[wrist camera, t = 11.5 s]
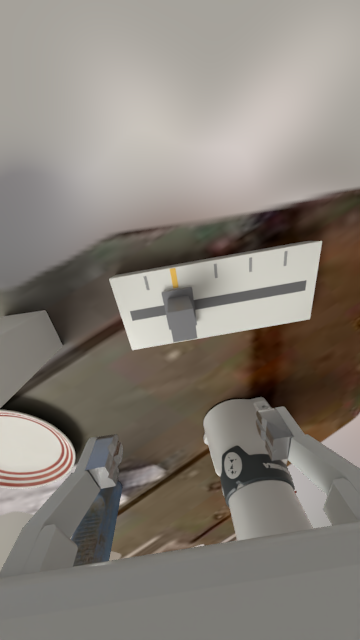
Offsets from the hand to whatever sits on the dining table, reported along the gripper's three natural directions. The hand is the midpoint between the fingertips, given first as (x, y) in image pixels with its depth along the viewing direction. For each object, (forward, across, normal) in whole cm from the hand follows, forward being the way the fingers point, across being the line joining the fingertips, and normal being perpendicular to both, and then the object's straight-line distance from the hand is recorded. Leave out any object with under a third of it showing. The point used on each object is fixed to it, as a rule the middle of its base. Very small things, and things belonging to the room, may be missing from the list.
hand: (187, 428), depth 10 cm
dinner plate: (+22, +42, +27) cm, 54 cm away
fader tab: (+18, -1, -1) cm, 18 cm away
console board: (+22, -7, -1) cm, 23 cm away
